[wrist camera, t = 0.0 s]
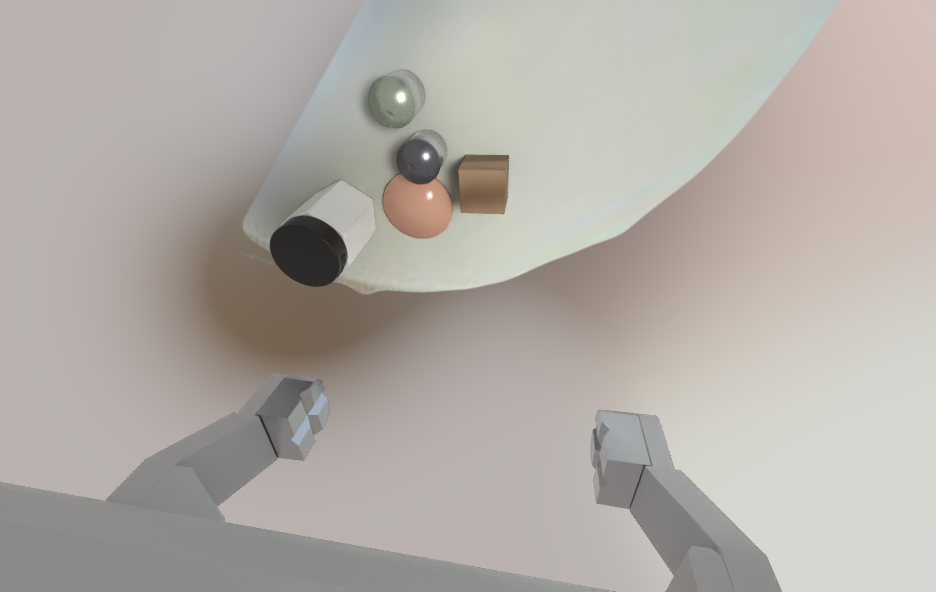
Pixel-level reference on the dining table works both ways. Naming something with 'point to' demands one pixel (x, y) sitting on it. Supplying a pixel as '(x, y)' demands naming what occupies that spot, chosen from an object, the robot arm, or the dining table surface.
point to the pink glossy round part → (417, 207)
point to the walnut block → (484, 184)
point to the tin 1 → (396, 98)
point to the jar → (324, 235)
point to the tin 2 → (422, 157)
